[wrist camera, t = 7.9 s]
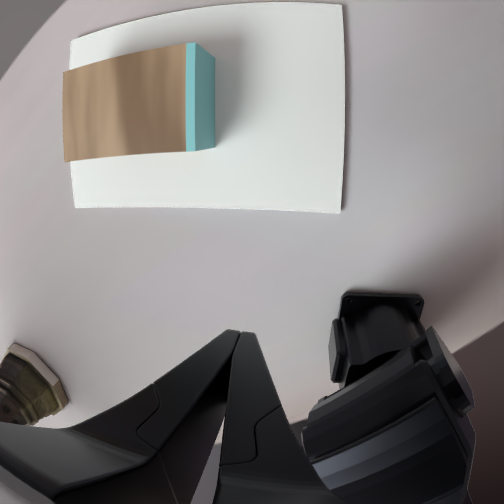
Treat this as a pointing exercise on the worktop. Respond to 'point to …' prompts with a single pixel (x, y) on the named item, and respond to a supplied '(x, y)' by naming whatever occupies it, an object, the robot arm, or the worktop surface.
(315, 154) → the white mat
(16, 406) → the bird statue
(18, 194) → the worktop surface
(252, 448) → the robot arm
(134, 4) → the worktop surface
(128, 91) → the wooden block
